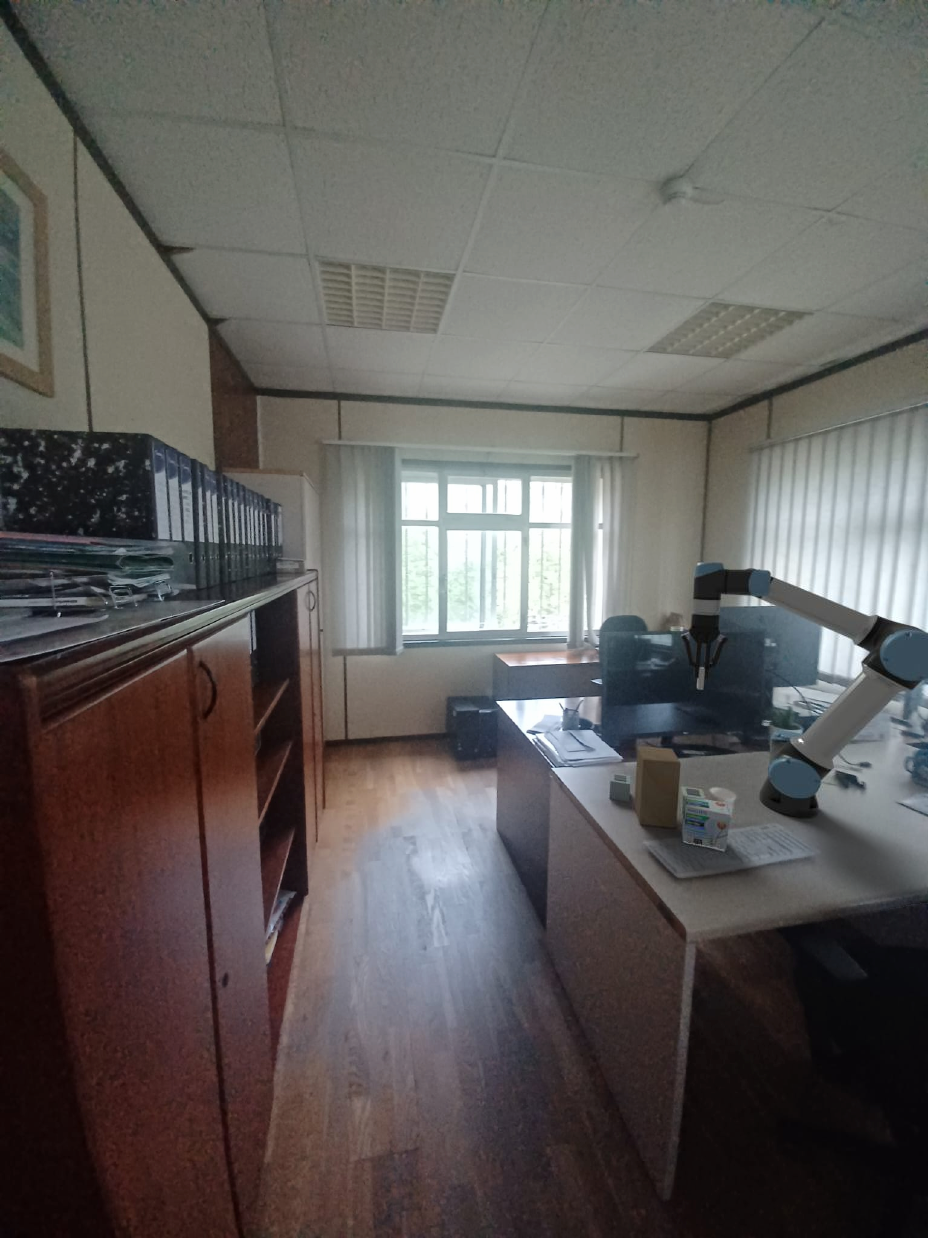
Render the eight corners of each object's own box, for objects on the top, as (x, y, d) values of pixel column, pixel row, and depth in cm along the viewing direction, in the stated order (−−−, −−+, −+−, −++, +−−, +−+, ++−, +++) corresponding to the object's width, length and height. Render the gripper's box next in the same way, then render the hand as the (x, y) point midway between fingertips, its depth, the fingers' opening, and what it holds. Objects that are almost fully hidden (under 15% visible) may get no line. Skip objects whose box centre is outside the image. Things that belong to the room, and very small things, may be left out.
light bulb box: (682, 844, 124) (685, 806, 123) (681, 830, 131) (683, 794, 129) (727, 853, 120) (730, 815, 119) (723, 839, 127) (727, 802, 125)
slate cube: (629, 793, 151) (630, 775, 151) (629, 802, 146) (630, 783, 145) (609, 789, 153) (610, 772, 152) (609, 798, 148) (610, 780, 147)
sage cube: (700, 807, 143) (702, 788, 142) (704, 818, 137) (705, 798, 136) (679, 804, 145) (681, 785, 144) (681, 814, 139) (683, 794, 138)
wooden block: (676, 829, 131) (681, 762, 128) (639, 825, 133) (643, 759, 130) (668, 810, 141) (672, 748, 138) (633, 806, 143) (637, 745, 140)
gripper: (727, 612, 141) (721, 687, 144) (680, 611, 146) (675, 683, 149) (732, 615, 134) (726, 694, 137) (683, 613, 139) (678, 689, 142)
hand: (699, 688), depth 143 cm, fingers closed
